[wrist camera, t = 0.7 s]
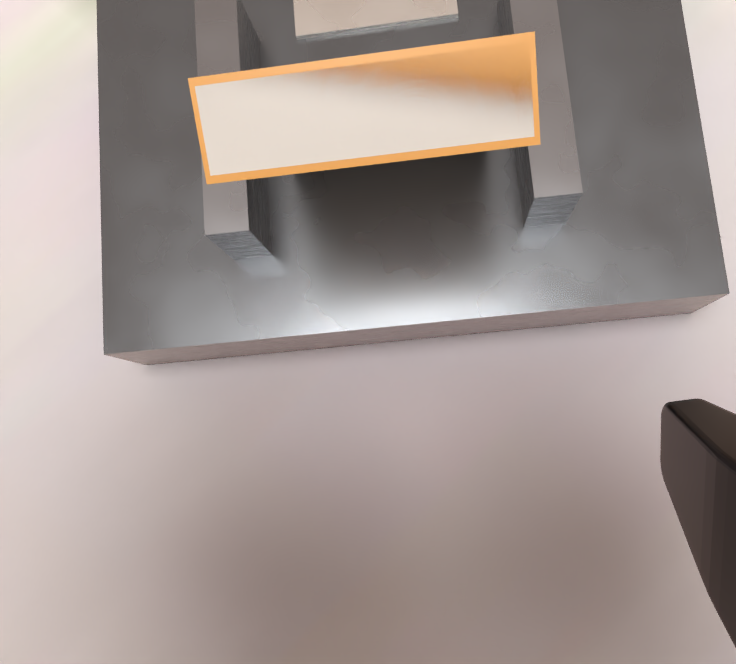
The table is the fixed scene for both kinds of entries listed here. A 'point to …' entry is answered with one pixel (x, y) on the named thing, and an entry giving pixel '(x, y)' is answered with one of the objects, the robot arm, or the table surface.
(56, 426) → the table surface
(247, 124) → the lever
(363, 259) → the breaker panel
